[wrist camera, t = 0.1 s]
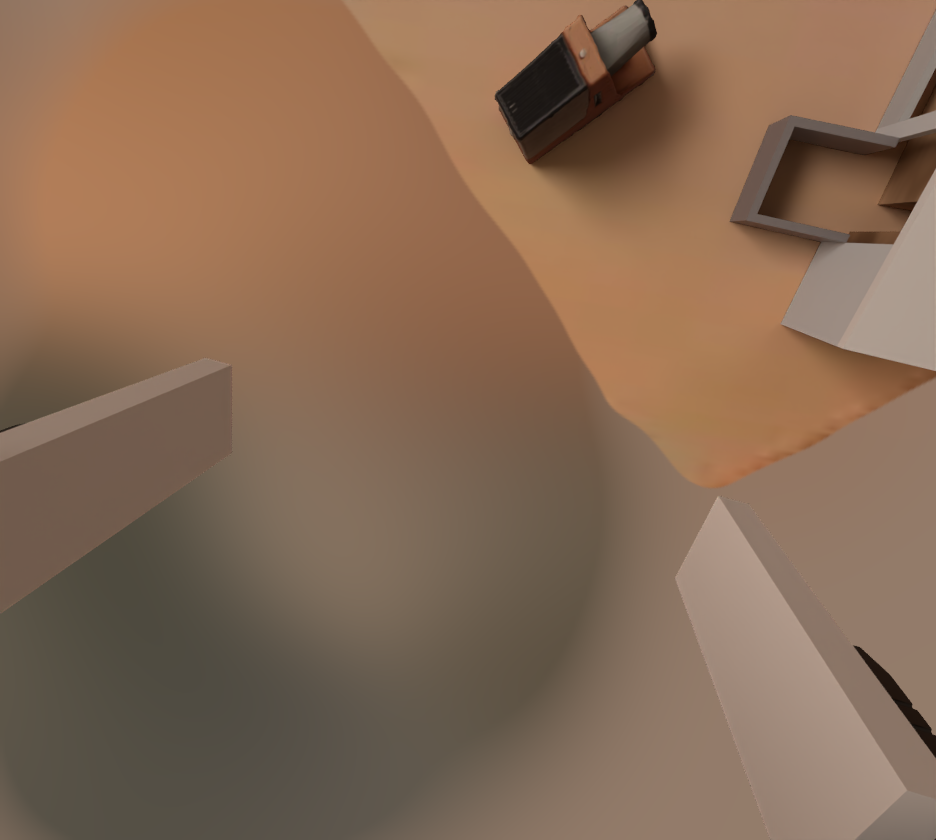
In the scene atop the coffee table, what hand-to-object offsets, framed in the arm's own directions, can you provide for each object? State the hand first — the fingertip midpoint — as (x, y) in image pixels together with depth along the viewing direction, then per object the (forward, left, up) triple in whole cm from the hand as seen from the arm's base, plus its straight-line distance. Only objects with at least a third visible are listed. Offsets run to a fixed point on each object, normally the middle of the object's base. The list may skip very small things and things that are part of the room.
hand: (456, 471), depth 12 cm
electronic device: (-15, 0, -28) cm, 32 cm away
